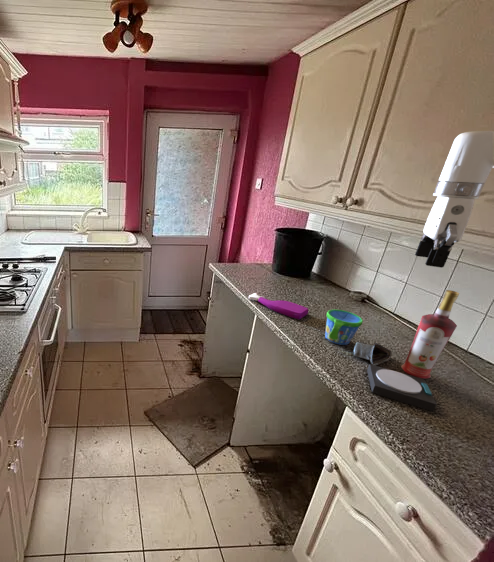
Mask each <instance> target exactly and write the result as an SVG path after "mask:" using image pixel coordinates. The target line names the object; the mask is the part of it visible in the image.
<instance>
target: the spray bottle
mask: <svg viewBox="0 0 494 562" xmlns="http://www.w3.org/2000/svg"><path fill="white" fill-rule="evenodd" d="M248 300H253V301H257V303H259V304H261V305H263V306H264V307H266V308H268V309H269V310H271V311H273V312H275V313H277V314H281V315H283V316H286V317H288V318H292V319H295V320H301V319H302V318H305V317H306V316H308V314H309V308H308V307H305V306H304V305H300V304H298V303H295V302H292V301H289V300H284V299H283V300H280V299H279V300H271V299H268V298H265V296H262V295H259V294H258V292H254V293H252V294H249V295H248Z"/></svg>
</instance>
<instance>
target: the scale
mask: <svg viewBox="0 0 494 562" xmlns="http://www.w3.org/2000/svg"><path fill="white" fill-rule="evenodd" d="M366 372H367V376H368V381H369V386H370V390H371V394H375V395H377V396H381V397H385V398H388V399H391V400H394V401H397V402H401V403H404V404H408V405H410V406H413V407H417V408H420V409H424V410H427V411H430V412H432V413H433V412H434V411H435V409H436V407H437V402H436V400H435V398H434V396H433V394H432V391H431V389H430V387H429V386H428V385H429V384H428V383H427V381H426V379H422V378H418V377H415V376H411V375H407V374H406V373H405V372H400V371H396V370H392V369H389V368H386V367H381V366H378V365H376V366H375V365H373V364H371V363H369V364H368V367H367V370H366Z"/></svg>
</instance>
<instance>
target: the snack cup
mask: <svg viewBox="0 0 494 562" xmlns="http://www.w3.org/2000/svg"><path fill="white" fill-rule="evenodd" d="M363 322H364V320H363V318H362V317H361V316H359V315H358V314H357V313H353V312H350V311H348V310H343V309H334V308H333V309H329V310H328V311H327V312H326V323H325V333H324V335H325V339H326V340H328V341H329V342H331V343H332V344H336V345H341V346H347V345H349V344H350V343H351V341H352V339H354V336H355V335H356V333H357V332H358V329H359V328H360V327H361V326H362V325H363Z"/></svg>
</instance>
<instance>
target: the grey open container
mask: <svg viewBox="0 0 494 562" xmlns="http://www.w3.org/2000/svg"><path fill="white" fill-rule="evenodd" d="M392 353H393V352H392V350H391V349H389V348H387V347H385V346H383V345H381V344H379V343H377V342H374V343H373V344H369V343H366V342H365V343H364V342H362V341H361V342H360V341H357V342H355V345H354V347H353V356H354V357H356V358H360V359H363V360H367V361H369V362H370V364H371V365H375V366H378V365H380V364H383V363H384V362H387V361H390V360H391V358H392V356H393V355H392Z"/></svg>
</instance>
